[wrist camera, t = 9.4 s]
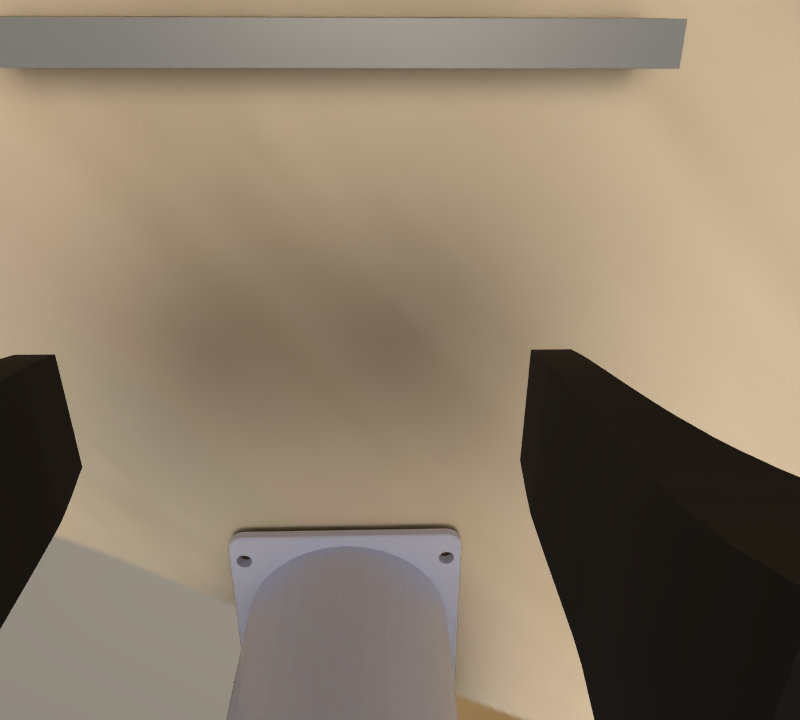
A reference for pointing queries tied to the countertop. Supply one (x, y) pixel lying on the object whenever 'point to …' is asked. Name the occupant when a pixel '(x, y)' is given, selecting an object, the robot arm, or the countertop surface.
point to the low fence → (339, 42)
